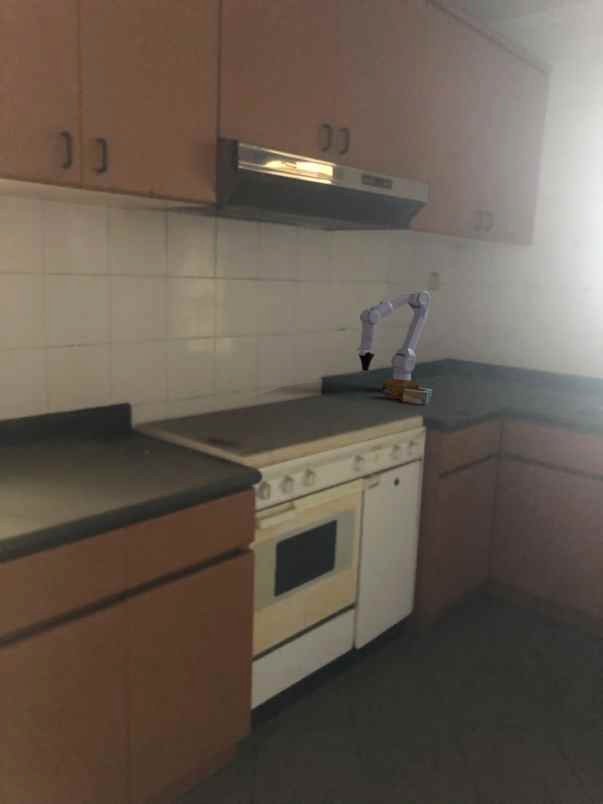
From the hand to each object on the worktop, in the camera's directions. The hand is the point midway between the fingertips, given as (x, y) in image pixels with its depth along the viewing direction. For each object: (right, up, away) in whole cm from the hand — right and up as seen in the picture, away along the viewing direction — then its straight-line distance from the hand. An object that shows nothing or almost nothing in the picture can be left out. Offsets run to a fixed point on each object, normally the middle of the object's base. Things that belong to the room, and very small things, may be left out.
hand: (365, 370), depth 279 cm
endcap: (+20, -13, -9) cm, 25 cm away
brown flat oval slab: (+14, -12, -7) cm, 19 cm away
